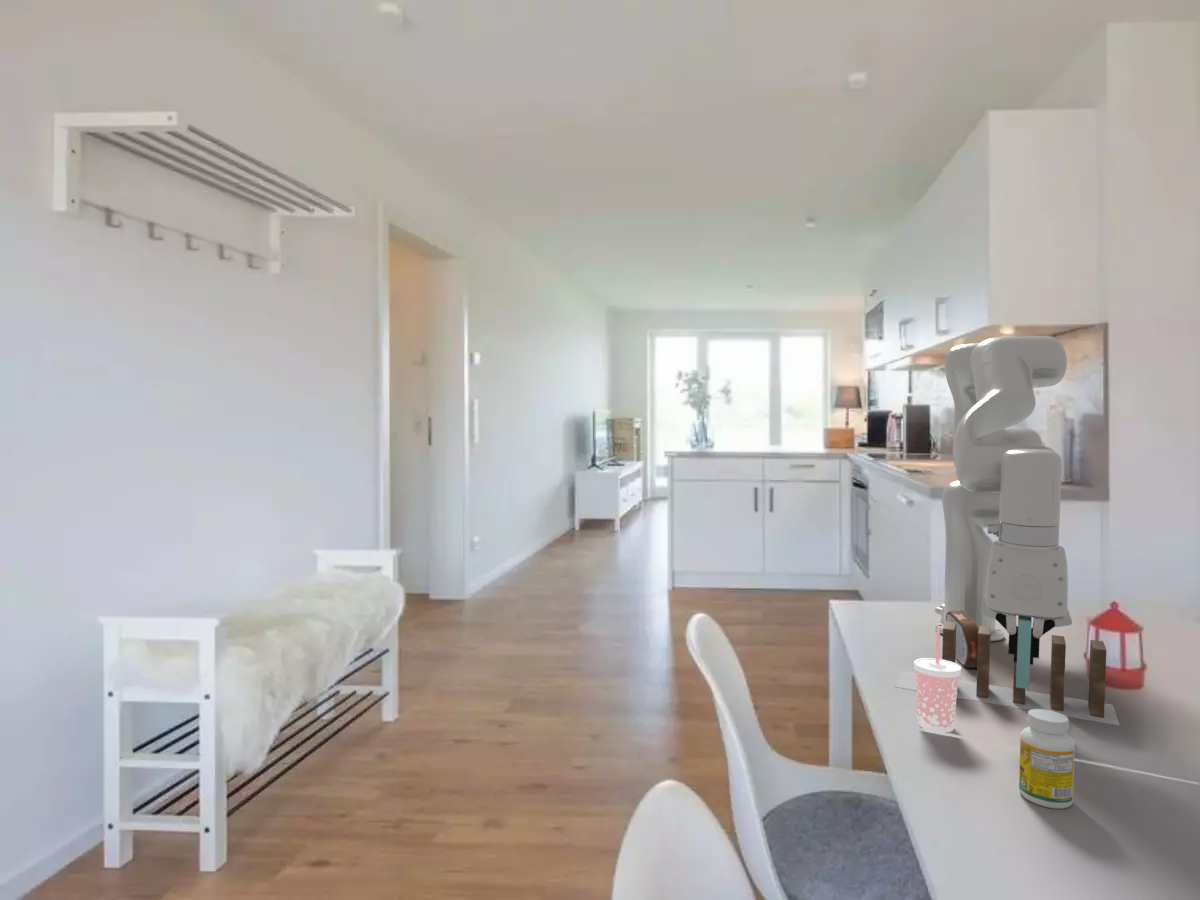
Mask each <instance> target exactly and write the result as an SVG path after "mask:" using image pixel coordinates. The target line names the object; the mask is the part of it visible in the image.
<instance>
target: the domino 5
mask: <svg viewBox="0 0 1200 900" xmlns="http://www.w3.org/2000/svg"><path fill="white" fill-rule="evenodd" d="M1066 648H1067V644H1066V640H1065V636H1063V635H1055V634H1052V635H1051V653H1050V654H1051V656H1050V683H1049V686H1050V687H1049V695H1050V704H1051V709H1053V710H1059V711H1064V697H1065V685H1066V684H1065V680H1066V679H1065V677H1066V676H1065V675H1066V653H1067V652H1066Z"/></svg>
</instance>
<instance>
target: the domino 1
mask: <svg viewBox="0 0 1200 900" xmlns="http://www.w3.org/2000/svg"><path fill="white" fill-rule="evenodd" d="M941 651H942V652H941V653H942V654H941V659H943V660H947V661H951V662H954V663H956V658H955V656H956V623H954V622H945V625H944V627H943V634H942V650H941Z"/></svg>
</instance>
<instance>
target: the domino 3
mask: <svg viewBox="0 0 1200 900" xmlns="http://www.w3.org/2000/svg"><path fill="white" fill-rule="evenodd" d="M1032 625H1033V620H1032V617H1025V616H1018V617H1017V627H1018V646H1017V664H1016V687H1018V688H1024V689H1025V690H1030V674H1031V673H1030V672H1031V671H1030V669H1031V667H1030V666H1031V665H1030V649H1031V628H1032Z"/></svg>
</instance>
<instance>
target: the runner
mask: <svg viewBox="0 0 1200 900" xmlns="http://www.w3.org/2000/svg"><path fill="white" fill-rule="evenodd" d="M894 688H897V689H903V690H904V689H905V690H910V691H916V692H917V688H916V672H911V671H906V670H905V671H904V670H902V671H901V673H900V675H899V677H898V679H897V681H896V682H895V685H894ZM976 689H977V682H973V681H967V680H961V679H958V688H957V699H962V700H963V699H964V700H969V701H974V702H980V703H986V704H991V705H998V706H1003V707H1009V708H1016V709H1021V710H1027V711H1029V710H1032V709H1045V710H1050V711H1054V712H1058V713H1060V714H1063V715H1065V716H1066V717H1067V718H1075V719H1078V720H1085V721H1091V722H1097V723H1102V724H1107V725H1114V726H1120V721H1119V719H1118V717H1117V713H1116V710H1115V707H1114V704H1110V703H1105V705H1104V718H1101V717H1095V716H1091V714H1090V710H1089V706H1088V700H1084V699H1079V698H1073V697H1066V696H1064V711H1059V710H1053V709H1051V704H1050V693H1043V692H1035V691H1031V690H1030V691H1029V690H1025V705H1024V704H1018V703H1013V688H1010V687H1004V686H998V685H992V684H989V693H988V698H982V697H976Z"/></svg>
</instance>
